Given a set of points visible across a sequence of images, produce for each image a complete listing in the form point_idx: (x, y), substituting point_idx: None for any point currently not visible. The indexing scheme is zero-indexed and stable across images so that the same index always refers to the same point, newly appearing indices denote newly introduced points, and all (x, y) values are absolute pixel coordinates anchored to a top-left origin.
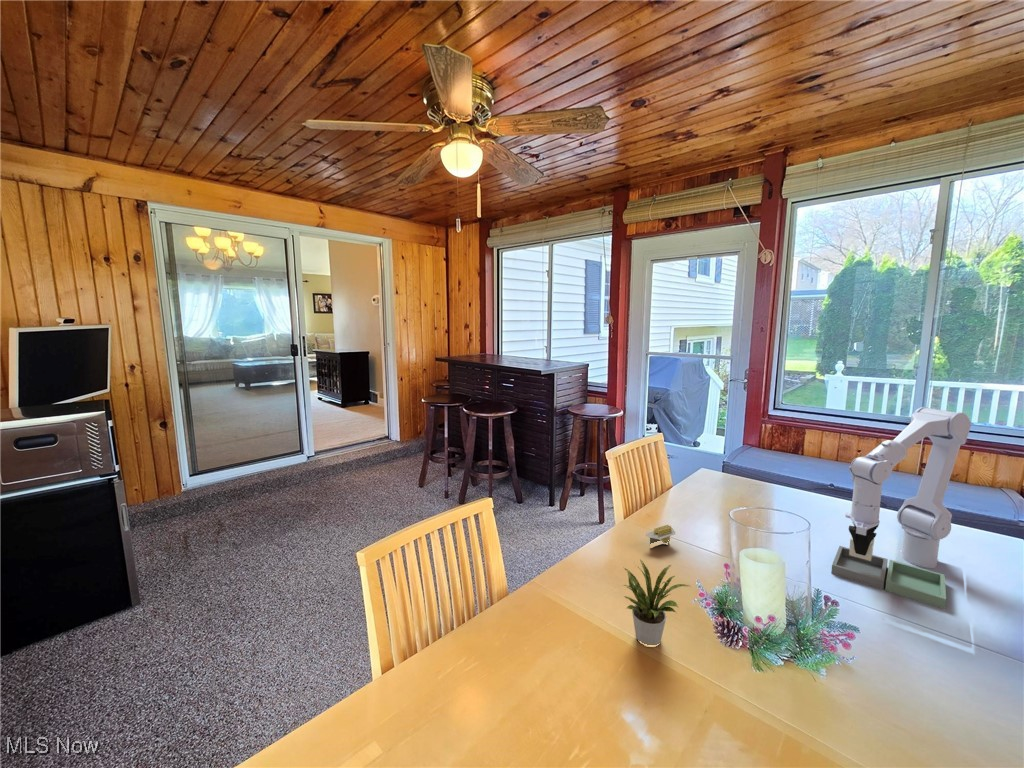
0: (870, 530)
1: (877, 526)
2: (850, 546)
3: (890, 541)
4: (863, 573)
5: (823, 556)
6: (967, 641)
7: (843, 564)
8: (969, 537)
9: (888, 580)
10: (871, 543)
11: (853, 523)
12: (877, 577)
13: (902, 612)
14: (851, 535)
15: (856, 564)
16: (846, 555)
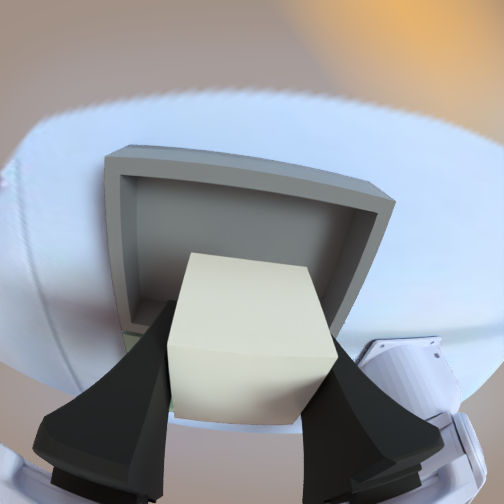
0: (311, 457)
1: (302, 501)
2: (180, 297)
3: (476, 316)
4: (121, 279)
5: (333, 115)
6: (74, 375)
7: (259, 195)
8: (472, 383)
9: (134, 340)
10: (192, 417)
11: (369, 440)
12: (129, 316)
13: (71, 318)
14: (80, 394)
15: (292, 245)
16: (356, 215)
